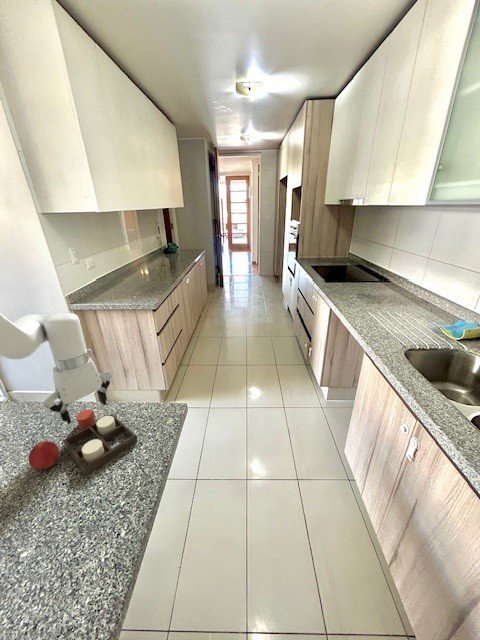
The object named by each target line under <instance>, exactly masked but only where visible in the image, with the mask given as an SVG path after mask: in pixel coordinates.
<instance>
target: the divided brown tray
mask: <svg viewBox="0 0 480 640" xmlns="http://www.w3.org/2000/svg"><path fill="white" fill-rule="evenodd" d="M108 416H112V417H113V418H114V421H115V426H116V428H115V429H113V430H111V431H109V432H108V433H106V434H104V435H103V436H100V435H99V434H98V429H97V425H96V423H97V421H96V423H94V424H93V425H91V426H89V427H87V428H85V429H81V430H80V431H78V432H76V433H74V434H73V435H71V436H69V437H66V438H65V439H64V440H62V442H63V447H64V449H65V450H66V451H67V453H68V454H69V455H70V456H71V458H72V459H73V460H74V461H75V464H77V466H78V467H79V468H80V469H81V471H82V472H83V473H84V474H85V476H86V477H87V476H89V475H91V474H92V473H94V472H95V471H96V470H98V469H100V468H101V467H102V466H105V464H107V463H108V462H110V461H111V460H113V459H114V458H116V457H117V456H119V455H120V454H122V453H123V452H124V451H126V450H128V449H129V448H130V447H132V446H134V445H135V444H137V443H138V437H137V434H136V433H134V431H133V430H132V429H130V428H129V427H128V426H127V425H125V423H124V422H122V421H121V420H120V419H118V418H117V416H115V415H114V414H113V413H110V414H109V415H108ZM123 433H124V434H125V435H126V436H127V437H128V438H127V439H125V440H123V441H121V442H120V443H119V444H117V445H115V446H114V447H113V448H112V447H111V445H110V444H109V443H108V442H110V441H112V440H113V439H115V438H117V437H118V436H120V435H121V434H123ZM89 436H91V437H92V438H93V440H95V439H98V440H101V441H102V445H103V449H104V453H105V454H104V455H102V456H100V457H99V458H97V459H96V460H94V461H93V462H91V463H90V464H88V465H86V464H85V461H84V457H83V454H82V447H81V448H79V449H77V450H74V448H73V447H72V446H74V445H75V444H77V443H79V442H80V441H82V440H84V439H86V438H87V437H89Z"/></svg>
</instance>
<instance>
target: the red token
mask: <svg viewBox="0 0 480 640" xmlns="http://www.w3.org/2000/svg"><path fill="white" fill-rule="evenodd" d="M75 418H76V421H77V425H78V428H79V429H80V430H83V429H85V428H87V427H89V426H91V425H93V424H94V423H96V422H97V419H96V416H95V411H94V410H93V409H84V410H82V411H80V412H78V413H77V415H76V417H75Z"/></svg>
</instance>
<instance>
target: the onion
mask: <svg viewBox="0 0 480 640" xmlns="http://www.w3.org/2000/svg"><path fill="white" fill-rule="evenodd" d="M59 456H60V448H59V446H58V444H55V442H52V441H43V440H40V441H38V443H37V444H36V445H34V447H33V448H32V449H31V450H30V453H29V454H28V463H29V464H28V465H29V466H30V467H31V468H32V469H35V470H46V469H48V468H50V467H52V466H53V465H54V464H55V463H56V462H57V461H58V458H59Z"/></svg>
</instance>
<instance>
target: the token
mask: <svg viewBox="0 0 480 640" xmlns="http://www.w3.org/2000/svg"><path fill="white" fill-rule="evenodd" d="M96 422H97V423H96V425H97V429H98V431H97V433H98V434H99V435H100V436H103V435H104V434H106V433H108V432H109V431H111V430H113V429H115V428H116V427H117V426H116V425H115V421H114V418H113V417H112V416H109V415H105V416H102V417H100V418H99V419H98V420H96Z"/></svg>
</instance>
